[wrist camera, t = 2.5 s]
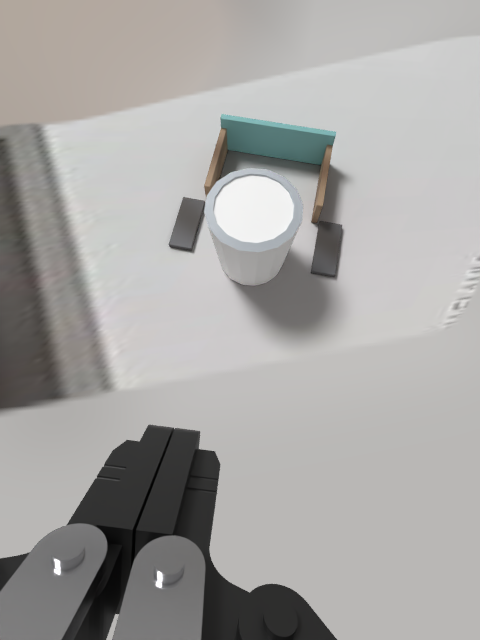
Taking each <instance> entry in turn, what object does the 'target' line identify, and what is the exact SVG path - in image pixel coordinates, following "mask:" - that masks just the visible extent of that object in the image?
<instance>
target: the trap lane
mask: <svg viewBox="0 0 480 640" xmlns="http://www.w3.org/2000/svg"><path fill="white" fill-rule="evenodd" d="M332 146H333V145H327V146H326V150H325V153H324V157H323V160H322V164H321V169H320V174H319V180H318V186H317V192H316V198H315V204H314V209H313V215H312V221H311V222H313V223H317V221H318V218H319V215H320V213H321V210H322V207H323V202H324V195H325V189H326V183H327V177H328V171H329V165H330V159H331V152H332ZM227 151H228V146H227V129H226V128H221V130H220V134H219V137H218V141H217V144H216V147H215V151H214V154H213V158H212V161H211V164H210V168H209V171H208V175H207V178H206V182H205V185H204V187H205V193H206V197H207V195H208V193H209V192H210V190H211V189H212V187H213V186H214V185H215V183H216V182H217V181H218V180H219V179H220V176H221V172H222V169H223V165H224V161H225V158H226V154H227ZM204 205H205V201H203V200H197V199H191V198H185V197H183V200H182V203H181V207H180V210H179V213H178V216H177V219H176V223H175V226H174V229H173V232H172V235H171V239H170V242H169V246H170V247H175V248H180V249H186V250H191V251H192V247H193V244H194V240H195V237H196V233H197V230H198V226H199V223H200V219H201V216H202V212H203V209H204ZM341 231H342V225H340V224H334V223H328V222H323V221H320V222H319V227H318V233H317V239H316V245H315V251H314V257H313V263H312V269H311V273H315V274H320V275H325V276H331V277H334V276H335V274H336V266H337V259H338V252H339V245H340V238H341Z"/></svg>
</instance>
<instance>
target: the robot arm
mask: <svg viewBox="0 0 480 640" xmlns="http://www.w3.org/2000/svg"><path fill="white" fill-rule="evenodd" d="M199 440H200V431H195V430H187V429H179V428H175V430H174V428H171V427H163V426H156V425H148V427H147V429H146V431H145V432H144V434H143V437H142V438H141V440H140V442H138V441H131V440H127V441H125V442H124V443H123V444H121V445H120V446H119V447H117V448H116V449H114V450H113V451H112V453H111V454H110V456H109V458H108V459H107V461H106V462H105V465H104V467H102V469H101V471H100V472H99V474H98V476H97V479H95V480H94V482H93V484H92V485H91V487H90V488H89V490H88V492H87V493H86V495H85V497H84V498H83V500H82V501H81V503H80V505H79V506H78V508H77V509H76V511H75V513H74V514H73V516H72V517H71V519H70V521H69V523H68V524H67V525H66V526H63V527H61V528H58V529H56V530H54V531H52V532H51V533H49V534H48V535H46V536H45V537H44V538H43V539H41V540H40V541H39V542H38V543H37V545H36V546H35V547H34V548H33V550H32V551H31V552H30V553H27V554H23V555H18V556H14V557H7V558H1V559H0V640H106V638H107V636H108V633H109V630H110V627H111V624H112V621H113V618H114V615H115V614H119V617H118V620H117V624H116V628H115V631H114V635H113V639H112V640H337V639H336V638H335V637H334V635H333V634H332V633H331V632H330V630H329V629H328V628H327V627H326V626H325V624H324V623H323V622H322V621H321V619H320V618H319V617H318V616H317V614H316V613H315V612H314V611H313V609H312V608H311V607H310V606H309V604H308V603H307V602H306V601H305V600H304V599H303V598H302V597H301V596H300V595H299V594H298V593H297V592H295V591H293V590H292V589H290V588H287V587H285V586H282V585H278V584H266V585H262V586H259V587H257V588H255V589H254V590H252V591H251V592H250V593H249V592H247V591H245V590H243V589H241V588H239V587H237V586H235V585H233V584H232V583H230V582H228V581H227V580H226V579H225V578H223V577H222V576H221V575H220V574H219V573H218V571H217V570H216V568H215V567H214V565H213V563H212V561H211V557H210V553H209V546H210V539H211V531H212V524H213V516H214V509H215V502H216V494H217V486H218V479H219V471H220V463H219V460H218V458H217V456H216V453H215V452H214V451H208V450H200V449H199Z"/></svg>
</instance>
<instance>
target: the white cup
mask: <svg viewBox="0 0 480 640" xmlns="http://www.w3.org/2000/svg"><path fill="white" fill-rule="evenodd" d="M204 214H205V217H206V220H207V224H208V227H209V230H210V233H211V236H212V239H213V242H214V245H215V248H216V251H217V254H218V257H219V260H220V263H221V266H222V269H223V271H224V272H225V273H226V274H227V275H228V277H229V278H230V279H232V280H234V281H236V282H238V283H240V284H242V285H251V286H256V285H260V284H263V283H267V282H268V281H270V280H271V279H272V278H274V277H275V276H276V275H277V274H278V272H279V270H280V269H281V267H282V265H283V263H284V261H285V258H286V256H287V254H288V252H289V249H290V247H291V245H292V243H293V240H294V238H295V236H296V233H297V231H298V229H299V227H300V224H301V222H302V214H303V203H302V200H301V198H300V195H299V193H298V191H297V189H296V188H295V187H294V186H293V185H292V184H291V183H290V182H289V181H288V180H287V179H286V178H285V177H284V176H281V175H279V174H277V173H275V172H272V171H270V170H268V169H257V168H246V169H242V170H238V171H234V172H231V173H229V174H228V175H226V176H225V177H223V178H222V179H220V180H218V181H217V182H216V183H215V185H214V186H213V187H212V189H211V190H210V192H209V193H208V195H207V197H206V203H205V209H204Z"/></svg>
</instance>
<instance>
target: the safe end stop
mask: <svg viewBox="0 0 480 640" xmlns="http://www.w3.org/2000/svg"><path fill="white" fill-rule="evenodd" d="M221 128H226V129H227V146H228V150H232V151H238V152H244V153H250V154H256V155H262V156H268V157H275V158H281V159H287V160H293V161H299V162H305V163H311V164H317V165H321V164H322V160H323V157H324V153H325V150H326V146H327V145H333V143H334V139H335V136H336V132H333V131H327V130H320V129H314V128H308V127H301V126H295V125H288V124H282V123H276V122H269V121H263V120H256V119H250V118H243V117H237V116H231V115H224V114H222V115H221Z"/></svg>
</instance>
